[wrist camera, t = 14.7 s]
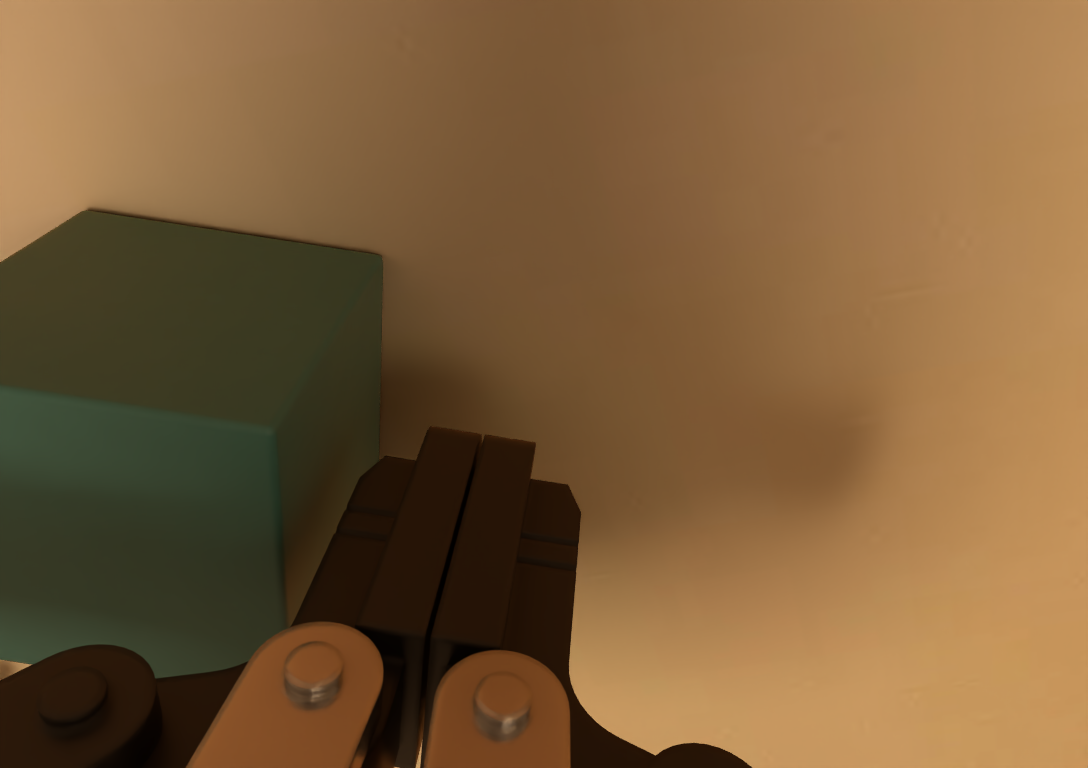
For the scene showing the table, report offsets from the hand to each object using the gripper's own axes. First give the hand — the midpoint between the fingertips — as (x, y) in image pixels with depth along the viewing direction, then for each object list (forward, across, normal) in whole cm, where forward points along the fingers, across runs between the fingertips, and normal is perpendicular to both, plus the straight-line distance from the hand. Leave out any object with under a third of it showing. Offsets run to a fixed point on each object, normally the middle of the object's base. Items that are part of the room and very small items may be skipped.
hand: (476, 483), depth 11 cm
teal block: (+2, +4, 0) cm, 5 cm away
